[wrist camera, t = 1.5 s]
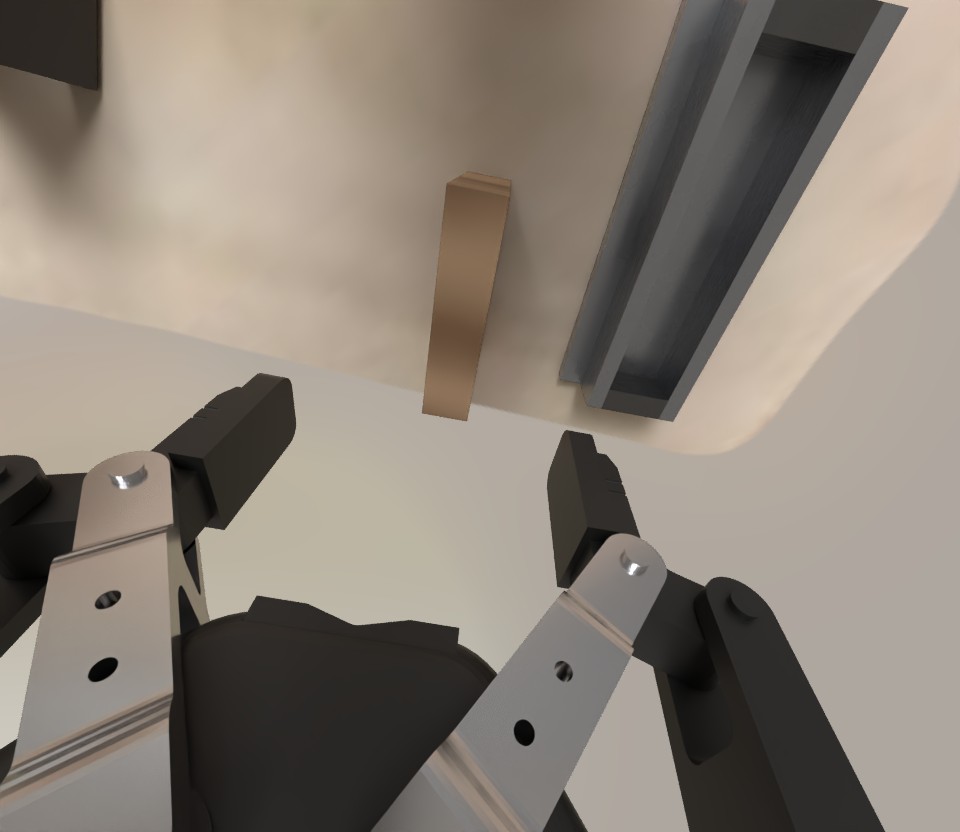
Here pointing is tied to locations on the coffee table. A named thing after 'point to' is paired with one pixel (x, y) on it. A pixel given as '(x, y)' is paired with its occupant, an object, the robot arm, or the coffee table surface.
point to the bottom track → (715, 185)
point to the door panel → (463, 289)
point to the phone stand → (51, 39)
